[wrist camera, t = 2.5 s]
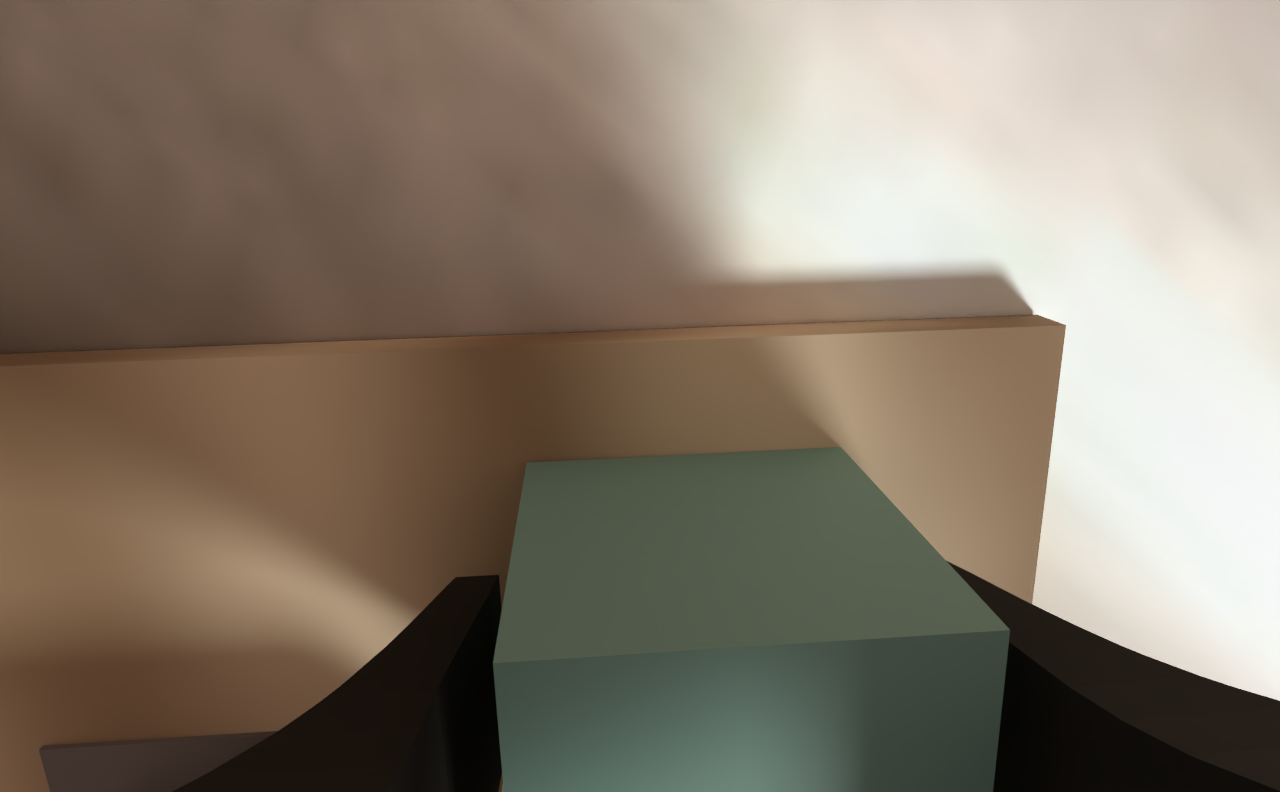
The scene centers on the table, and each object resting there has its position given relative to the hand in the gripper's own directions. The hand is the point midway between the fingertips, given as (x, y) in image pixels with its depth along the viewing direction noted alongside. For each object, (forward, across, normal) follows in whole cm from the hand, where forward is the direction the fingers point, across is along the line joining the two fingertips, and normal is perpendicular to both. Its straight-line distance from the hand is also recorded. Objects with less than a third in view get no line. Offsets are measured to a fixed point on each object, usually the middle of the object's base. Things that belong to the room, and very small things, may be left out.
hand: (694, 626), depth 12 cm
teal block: (+1, 0, 0) cm, 1 cm away
